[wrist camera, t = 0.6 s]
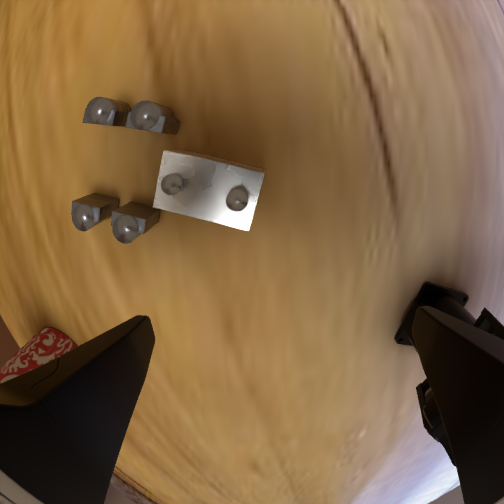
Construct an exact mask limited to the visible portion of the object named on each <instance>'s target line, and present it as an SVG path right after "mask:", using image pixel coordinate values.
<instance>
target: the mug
mask: <svg viewBox="0 0 504 504" xmlns="http://www.w3.org/2000/svg"><path fill="white" fill-rule="evenodd" d="M76 347H77V346H76V345H75V344H74V342H73V341H72V340H71V339H70V338H68V337H67V336H66V335H65V334H63V333H62V332H60V331H58V330H56V329H53V328H49V327H48V328H44V329H42V330H41V331H40V332H38V333H37V334H36V335H35V336H34V337H33V338H32V339H31V340H30V341H29V342H28V343H27V344H26V345H24V346H23V347H22V348H21V349H20V351H18V352H17V353H16V354H15V355H14V356H13V357H12V358H11V359H10V360H9V361H8V362H7V363H6V364H5V365H4V366H3V367H2V368H1V369H0V383H3V382H5V381H7V380H10V379H12V378H15V377H17V376H19V375H22V374H24V373H26V372H28V371H31V370H33V369H35V368H37V367H39V366H41V365H43V364H45V363H47V362H49V361H51V360H53V359H55V358H57V357H60V356H61V355H63V354H65V353H67V352H69V351H70V350H72V349H74V348H76Z"/></svg>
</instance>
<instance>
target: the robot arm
mask: <svg viewBox="0 0 504 504" xmlns="http://www.w3.org/2000/svg"><path fill="white" fill-rule="evenodd" d="M427 287H429V288H428V289H427ZM426 289H427V290H426ZM467 301H468V295H467V294H466V293H463V292H460V291H457V290H453V289H450V288H447V287H444V286H440V285H437V284H434V283H430V282H426V283H425V284H424V285H423V286H422V288H421V290H420V292H419V294H418V296H417V298H416V300H415V302H414V304H413V306H412V308H411V310H410V312H409V314H408V315H407V317H406V319H405V321H404V323H403V324H402V326H401V328H400V330H399V331H398V333H397V335H396V336H395V341H396V343H398V344H403V345H411V346H414V348H415V349H416V351H417V352H418V354H419V357H420V360H421V363H422V366H423V369H424V372H425V375H426V377H427V378H426V379H425V380H424V381H423V382H422V383H420V384H419V385H418V386H417V387H416V390H417V395H418V400H419V404H420V409H421V414H422V419H423V424H424V428H425V429H426V430H427V432H428V434H429V435H431V436H432V437H433V438H434V439H435V440H436V441H438V442H440V443H441V444H442V445H443V447H444V448H445V450H446V452H447V454H448V456H449V458H450V460H451V462H452V464H453V465H454V466H456V468H457V472H458V476H459V480H460V485H461V489H462V494H463V499H464V503H465V504H497V503H498V502H499V501H501V500H503V499H504V326H503V325H502V324H501V323H500V322H499V321H498V320H497V319H496V318H495V317H494V316H493V315H492V314H491V313H490V312H489V311H488V310H487V309H486V308H484V309H483V310H482V312H481V315H480V316H479V318H478V319H477V320H476V319H475V318H474V317H473V316H472V315H471V314H470V313H469V312H468V311H467V310H466V309H465V308H464V306H465V304H466V303H467ZM154 344H155V335H154V331H153V328H152V324H151V320H150V318H149V317H148V316H142V315H137V316H135V317H133V318H131V319H129V320H127V321H125V322H124V323H122V324H120V325H118V326H116V327H114V328H112V329H110V330H108V331H106V332H105V333H103V334H101V335H99V336H97V337H95V338H93V339H91V340H89V341H88V342H86V343H84V344H82V345H80V346H78V347H76V348H74V349H72V350H70V351H69V352H67V353H65V354H63V355H61V356H60V357H57V358H55V359H53V360H51V361H49V362H47V363H45V364H43V365H41V366H39V367H37V368H35V369H33V370H31V371H28V372H26V373H24V374H22V375H19V376H17V377H15V378H12V379H10V380H7V381H5V382H3V383H0V504H104V501H105V498H106V494H107V491H108V488H109V484H110V480H111V477H112V474H113V471H114V467H115V464H116V461H117V458H118V455H119V452H120V449H121V446H122V443H123V440H124V437H125V434H126V431H127V428H128V425H129V422H130V419H131V417H132V414H133V411H134V408H135V405H136V403H137V400H138V397H139V395H140V392H141V389H142V386H143V384H144V381H145V378H146V375H147V371H148V367H149V363H150V359H151V355H152V351H153V347H154Z"/></svg>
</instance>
